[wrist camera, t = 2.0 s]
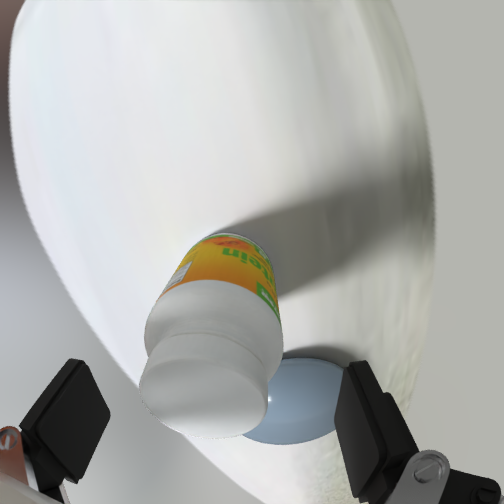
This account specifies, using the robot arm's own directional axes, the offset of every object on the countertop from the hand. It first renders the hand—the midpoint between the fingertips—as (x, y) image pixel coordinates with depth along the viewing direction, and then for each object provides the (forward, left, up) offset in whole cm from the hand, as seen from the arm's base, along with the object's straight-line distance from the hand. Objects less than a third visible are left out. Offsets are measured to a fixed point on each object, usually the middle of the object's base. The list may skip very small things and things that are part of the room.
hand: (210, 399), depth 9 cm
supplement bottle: (-1, 0, -9) cm, 9 cm away
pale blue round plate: (+10, +4, -9) cm, 14 cm away
